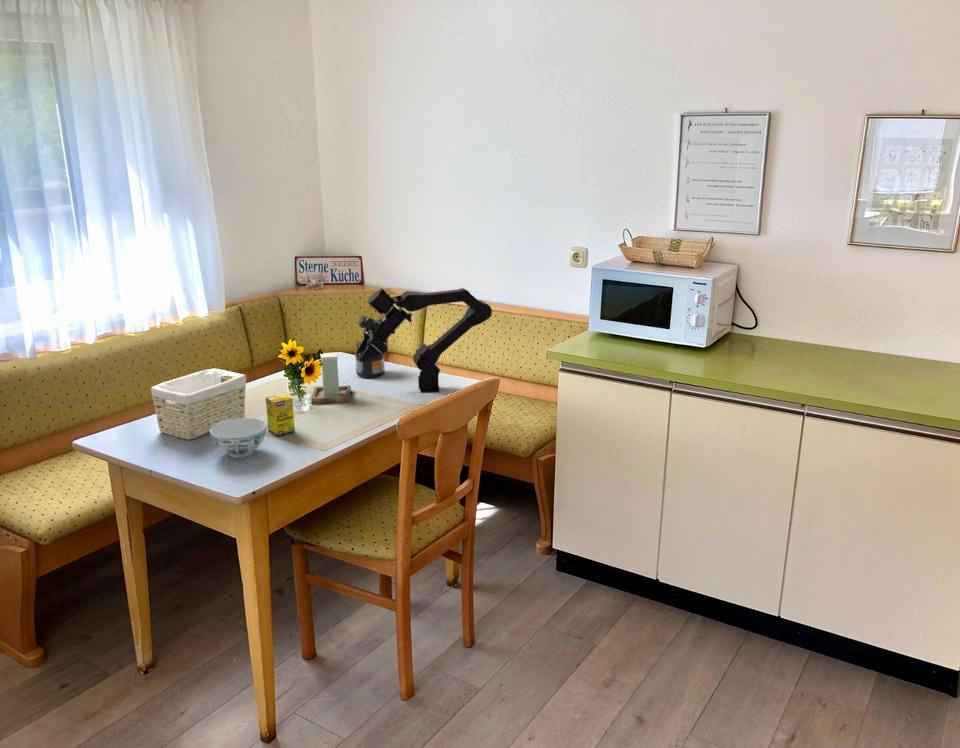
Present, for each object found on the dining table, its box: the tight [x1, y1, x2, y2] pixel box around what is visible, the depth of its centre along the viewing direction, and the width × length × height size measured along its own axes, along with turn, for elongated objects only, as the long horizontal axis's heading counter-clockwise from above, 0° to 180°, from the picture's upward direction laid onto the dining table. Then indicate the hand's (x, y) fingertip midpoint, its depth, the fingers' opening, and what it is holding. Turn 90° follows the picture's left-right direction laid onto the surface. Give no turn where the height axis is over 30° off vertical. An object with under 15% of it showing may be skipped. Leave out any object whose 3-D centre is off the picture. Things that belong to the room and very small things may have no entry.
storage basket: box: [150, 368, 247, 441], centre depth 239 cm, size 24×16×15 cm
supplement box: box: [265, 393, 296, 438], centre depth 234 cm, size 6×6×11 cm
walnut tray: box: [310, 385, 352, 405], centre depth 265 cm, size 12×12×2 cm
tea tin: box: [319, 351, 340, 397], centre depth 263 cm, size 5×5×14 cm
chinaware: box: [209, 417, 267, 458], centre depth 220 cm, size 15×15×8 cm
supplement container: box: [354, 340, 386, 379], centre depth 287 cm, size 10×10×12 cm
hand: (358, 357), depth 263 cm, fingers open, 9 cm apart
